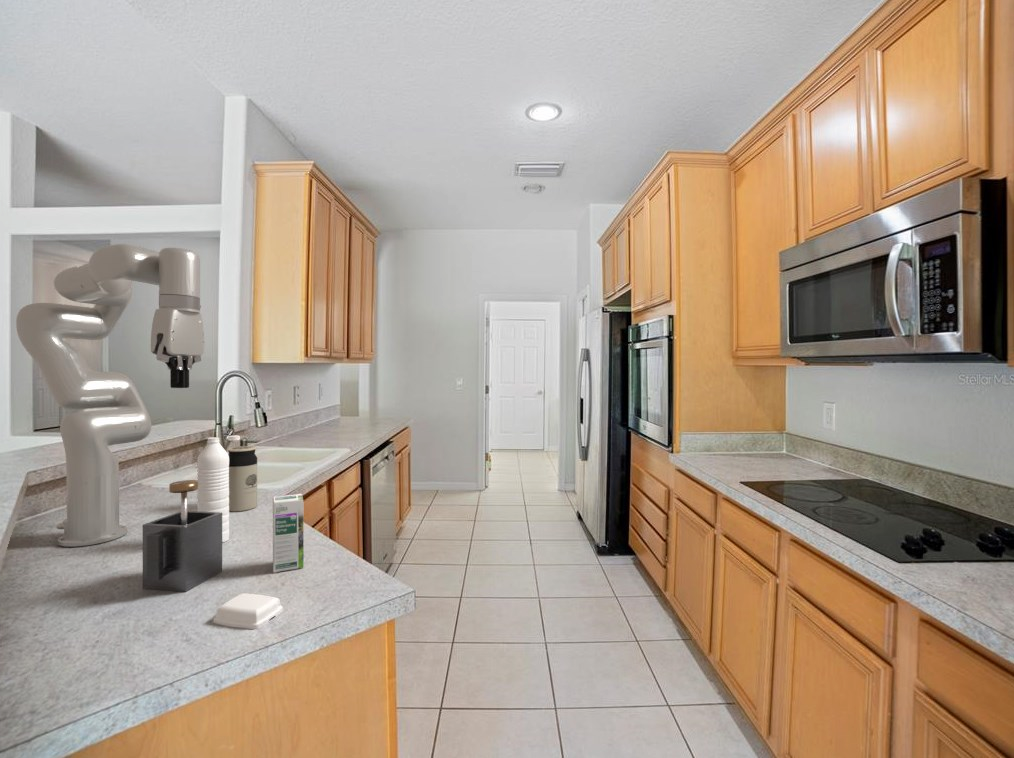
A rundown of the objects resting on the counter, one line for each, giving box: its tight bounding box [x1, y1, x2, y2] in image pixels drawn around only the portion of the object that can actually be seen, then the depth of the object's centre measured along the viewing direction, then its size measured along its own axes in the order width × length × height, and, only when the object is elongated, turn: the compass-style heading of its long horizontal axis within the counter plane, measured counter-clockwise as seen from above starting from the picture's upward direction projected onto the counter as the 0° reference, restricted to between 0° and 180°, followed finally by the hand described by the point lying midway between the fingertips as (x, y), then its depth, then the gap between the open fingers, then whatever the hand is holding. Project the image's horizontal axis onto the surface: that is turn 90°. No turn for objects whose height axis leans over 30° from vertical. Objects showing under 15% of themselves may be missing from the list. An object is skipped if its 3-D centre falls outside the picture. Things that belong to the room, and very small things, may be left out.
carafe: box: [142, 510, 223, 593], centre depth 89 cm, size 9×11×12 cm
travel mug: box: [227, 445, 258, 513], centre depth 138 cm, size 8×8×18 cm
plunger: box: [169, 479, 198, 526], centre depth 90 cm, size 6×6×16 cm
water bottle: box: [196, 434, 241, 543], centre depth 111 cm, size 9×6×25 cm
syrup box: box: [272, 493, 305, 574], centre depth 97 cm, size 6×6×14 cm
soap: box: [212, 592, 284, 630], centre depth 77 cm, size 9×7×3 cm
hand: (179, 387), depth 103 cm, fingers closed
